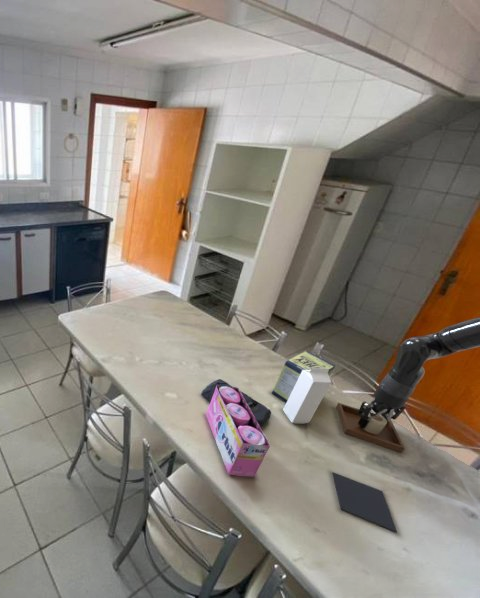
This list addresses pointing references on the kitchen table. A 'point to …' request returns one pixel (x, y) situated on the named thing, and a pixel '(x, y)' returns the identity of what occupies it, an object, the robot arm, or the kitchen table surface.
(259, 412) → the black pouch
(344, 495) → the mat
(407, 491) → the kitchen table surface
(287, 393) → the protein box
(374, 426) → the masking tape
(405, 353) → the robot arm
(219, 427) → the gum box
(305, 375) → the milk
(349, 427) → the tray
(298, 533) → the kitchen table surface
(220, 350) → the kitchen table surface
